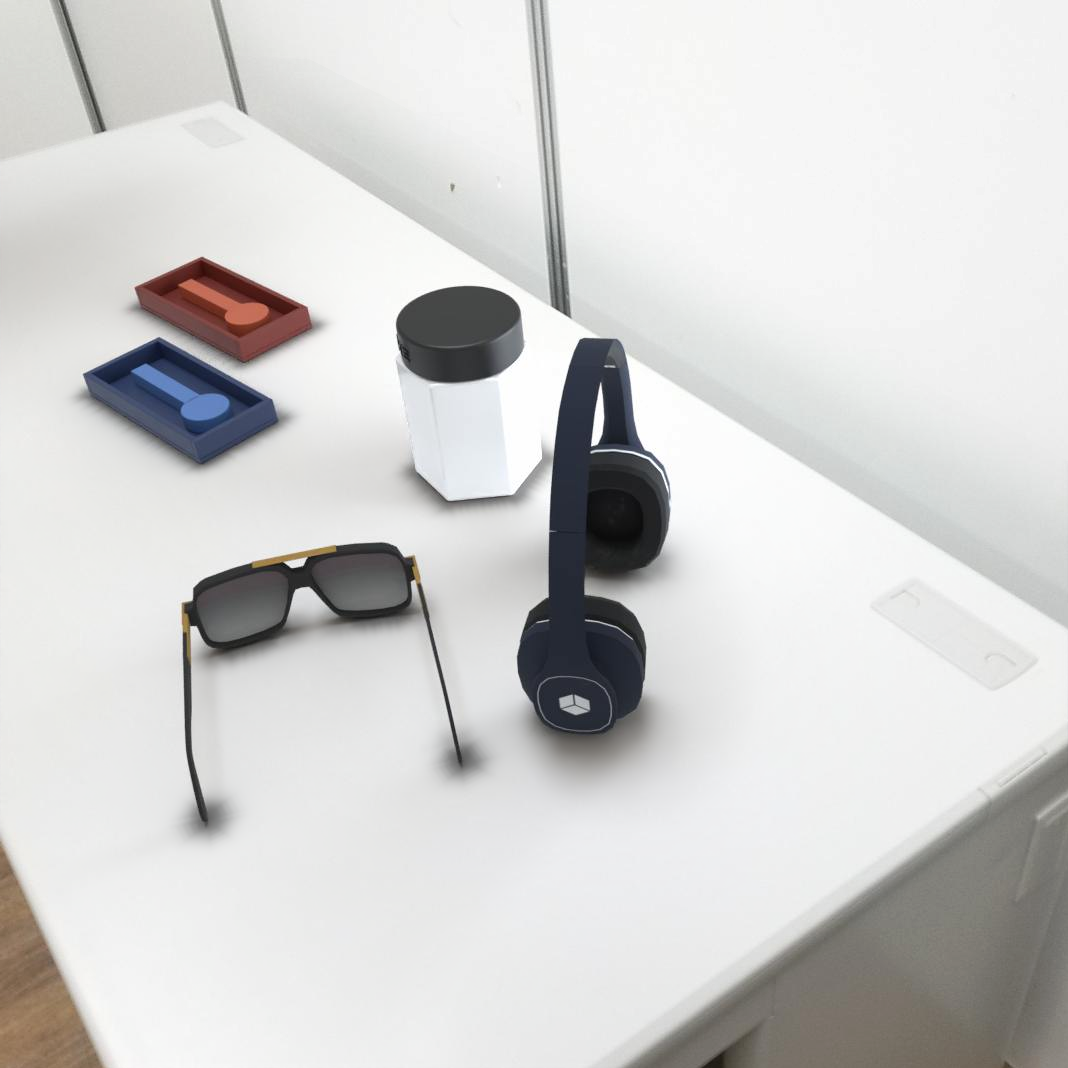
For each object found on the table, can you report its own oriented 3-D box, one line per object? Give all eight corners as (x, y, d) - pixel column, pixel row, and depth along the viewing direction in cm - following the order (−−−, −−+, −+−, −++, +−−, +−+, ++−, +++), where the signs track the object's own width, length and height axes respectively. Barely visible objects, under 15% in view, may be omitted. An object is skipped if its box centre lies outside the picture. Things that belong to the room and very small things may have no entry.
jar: (459, 420, 92) (437, 273, 84) (557, 443, 89) (545, 292, 81) (396, 489, 86) (366, 338, 78) (500, 515, 83) (480, 361, 75)
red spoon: (170, 302, 107) (166, 289, 106) (205, 286, 109) (201, 273, 108) (245, 341, 101) (241, 328, 100) (280, 324, 103) (277, 311, 102)
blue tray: (90, 394, 97) (82, 373, 96) (165, 357, 101) (159, 336, 100) (201, 464, 89) (193, 442, 88) (278, 420, 93) (272, 399, 92)
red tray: (140, 307, 107) (133, 287, 106) (207, 275, 111) (202, 256, 110) (244, 362, 100) (238, 342, 98) (312, 327, 103) (307, 306, 102)
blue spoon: (122, 390, 97) (118, 376, 96) (162, 370, 99) (157, 357, 98) (202, 439, 91) (198, 425, 90) (243, 417, 93) (239, 404, 92)
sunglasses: (203, 826, 65) (176, 764, 62) (196, 634, 76) (173, 573, 73) (463, 765, 67) (452, 702, 64) (420, 587, 78) (408, 526, 75)
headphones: (572, 522, 82) (551, 270, 70) (675, 527, 82) (673, 273, 69) (515, 750, 68) (477, 483, 56) (640, 759, 67) (629, 490, 55)
